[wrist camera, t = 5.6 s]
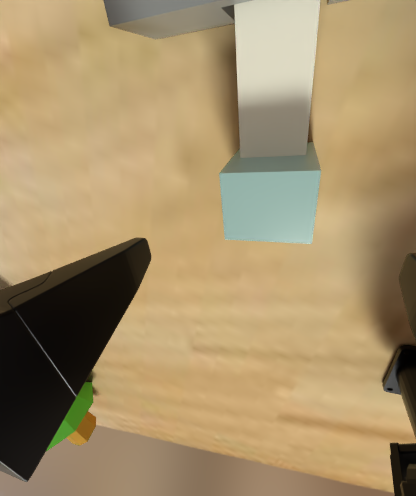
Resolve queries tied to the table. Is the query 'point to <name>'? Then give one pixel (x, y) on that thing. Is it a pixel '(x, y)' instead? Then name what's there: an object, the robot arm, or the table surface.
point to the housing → (171, 15)
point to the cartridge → (273, 124)
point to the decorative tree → (77, 419)
